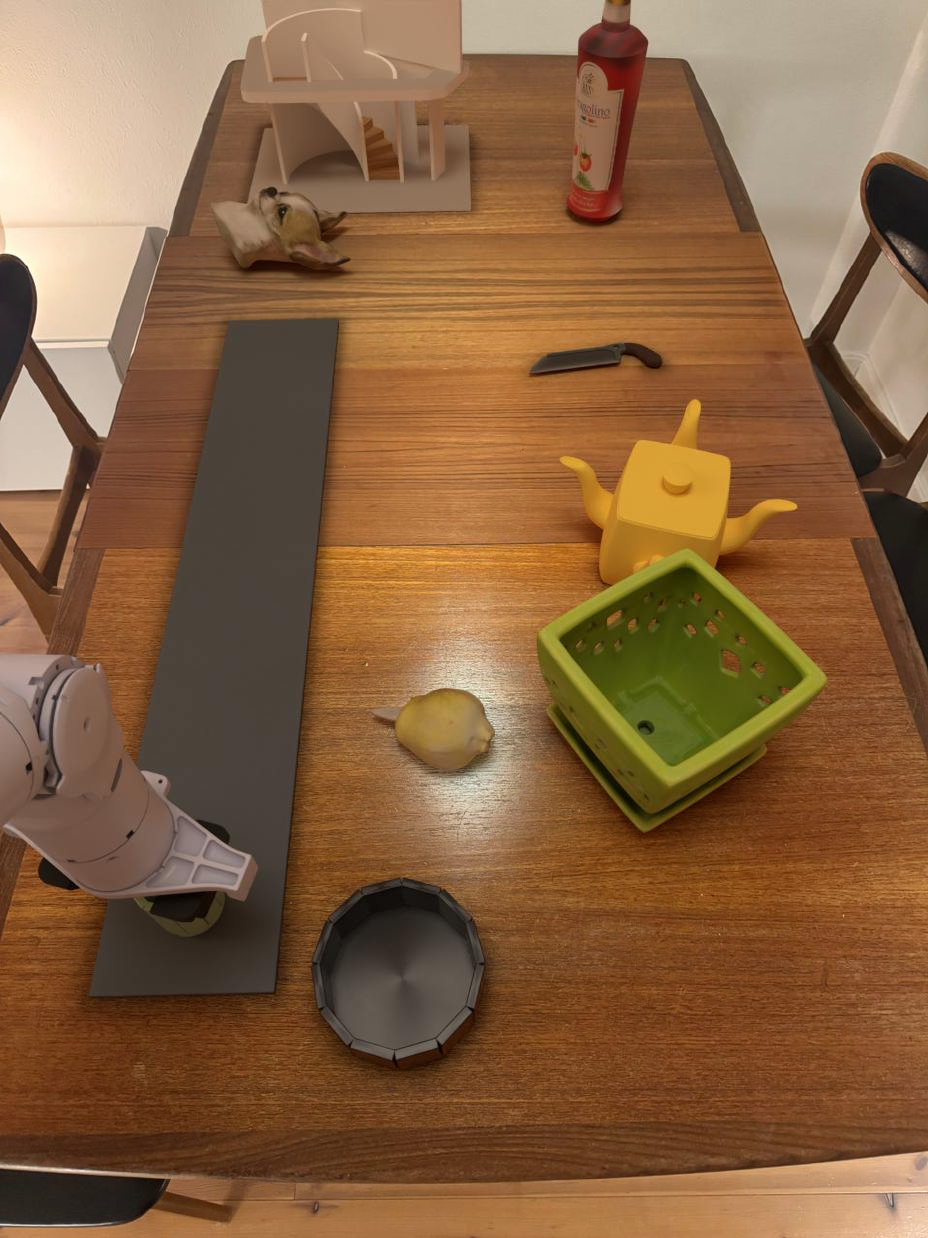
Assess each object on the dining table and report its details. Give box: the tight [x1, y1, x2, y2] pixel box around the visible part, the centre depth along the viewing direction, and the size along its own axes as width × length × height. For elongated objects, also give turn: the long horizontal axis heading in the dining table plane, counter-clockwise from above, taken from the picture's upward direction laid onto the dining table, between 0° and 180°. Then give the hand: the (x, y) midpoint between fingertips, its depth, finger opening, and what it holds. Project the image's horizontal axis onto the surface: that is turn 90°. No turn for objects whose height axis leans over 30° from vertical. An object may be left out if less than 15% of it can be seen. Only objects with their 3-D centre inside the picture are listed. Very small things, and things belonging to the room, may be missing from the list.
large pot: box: [310, 877, 486, 1071], centre depth 55 cm, size 10×10×4 cm
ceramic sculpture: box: [210, 187, 351, 271], centre depth 99 cm, size 11×9×15 cm
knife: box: [528, 342, 663, 375], centre depth 91 cm, size 14×4×1 cm, turn 100°
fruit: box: [372, 687, 496, 771], centre depth 65 cm, size 6×6×10 cm
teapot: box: [559, 399, 798, 603], centre depth 73 cm, size 15×14×10 cm
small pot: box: [133, 891, 225, 937], centre depth 56 cm, size 4×5×6 cm
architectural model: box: [239, 0, 472, 214], centre depth 104 cm, size 28×21×23 cm
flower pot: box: [536, 548, 828, 834], centre depth 61 cm, size 14×14×13 cm
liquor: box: [565, 0, 649, 223], centre depth 96 cm, size 7×7×28 cm
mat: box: [88, 318, 340, 999], centre depth 76 cm, size 69×12×1 cm, turn 1°
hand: (169, 891), depth 55 cm, fingers closed on small pot, 4 cm apart
